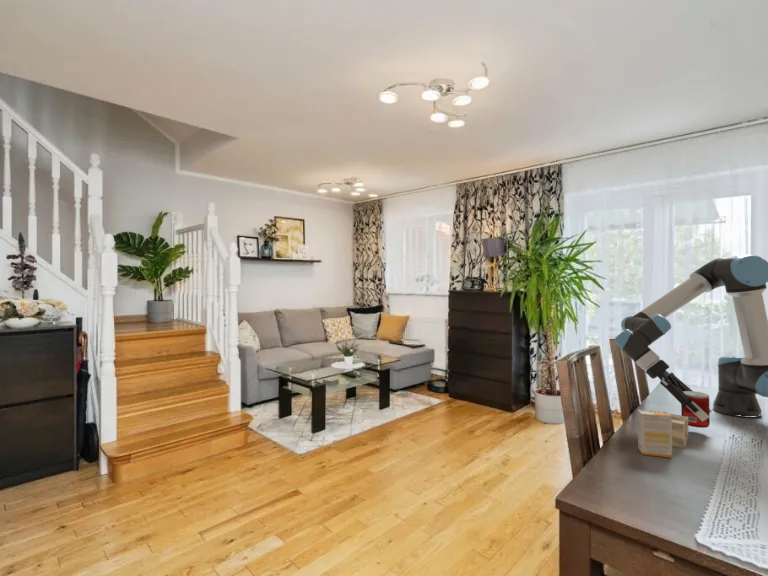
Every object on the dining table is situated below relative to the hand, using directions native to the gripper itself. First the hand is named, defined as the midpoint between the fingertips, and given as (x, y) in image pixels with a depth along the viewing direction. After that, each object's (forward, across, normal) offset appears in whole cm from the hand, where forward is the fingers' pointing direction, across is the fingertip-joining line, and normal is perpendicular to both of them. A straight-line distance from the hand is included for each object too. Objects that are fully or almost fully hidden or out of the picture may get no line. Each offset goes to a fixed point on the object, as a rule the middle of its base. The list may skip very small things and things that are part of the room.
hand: (707, 416), depth 143 cm
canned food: (0, 0, -5) cm, 5 cm away
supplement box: (-3, +31, -12) cm, 33 cm away
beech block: (-2, +15, -11) cm, 19 cm away
